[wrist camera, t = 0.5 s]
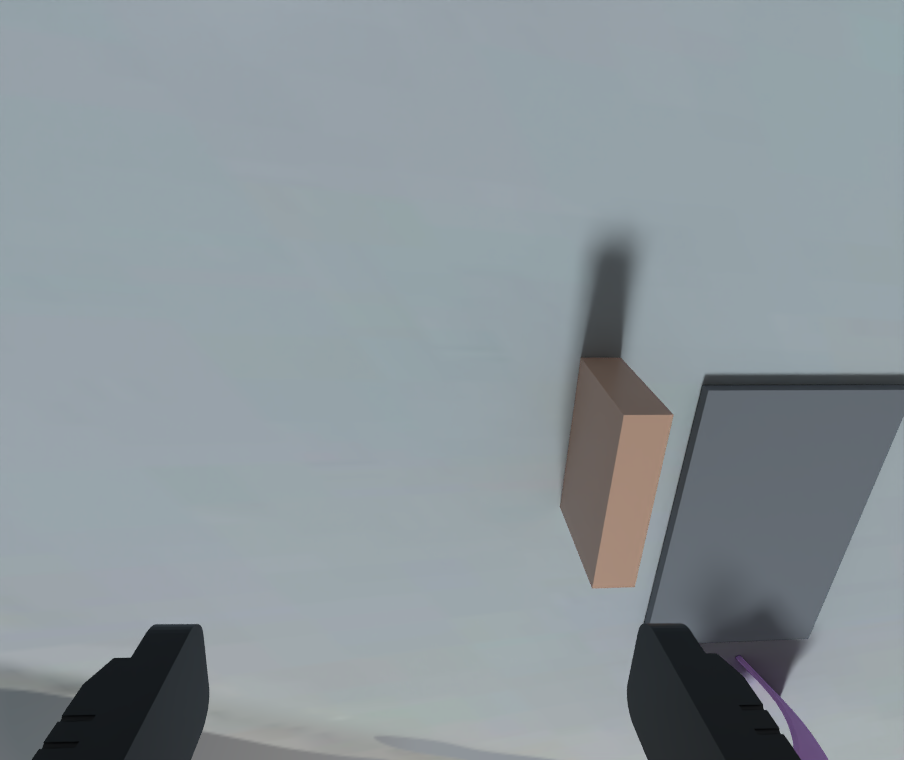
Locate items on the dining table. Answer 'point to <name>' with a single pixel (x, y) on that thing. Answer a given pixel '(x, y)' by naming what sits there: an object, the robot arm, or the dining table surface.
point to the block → (612, 469)
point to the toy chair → (791, 722)
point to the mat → (769, 505)
